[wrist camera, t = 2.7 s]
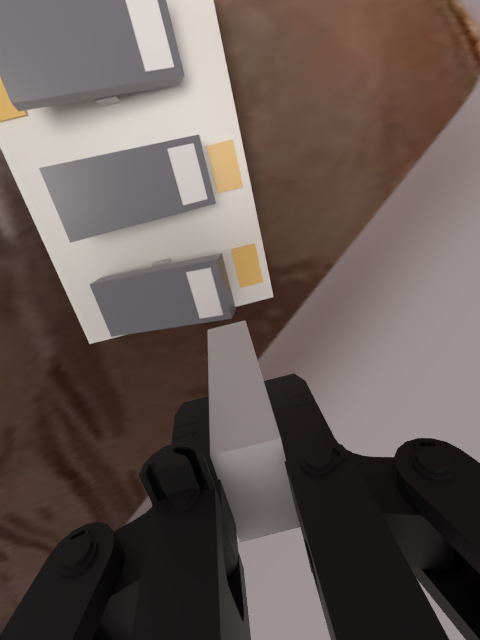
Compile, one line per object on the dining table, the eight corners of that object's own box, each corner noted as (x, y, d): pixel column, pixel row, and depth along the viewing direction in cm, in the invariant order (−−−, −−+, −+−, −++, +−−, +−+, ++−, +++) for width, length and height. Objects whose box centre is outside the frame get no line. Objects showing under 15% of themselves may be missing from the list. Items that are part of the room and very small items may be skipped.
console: (103, 324, 30) (83, 353, 25) (-10, 59, 23) (-72, 23, 18) (264, 283, 31) (277, 303, 26) (206, 7, 23) (208, -45, 18)
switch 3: (121, 327, 26) (110, 337, 24) (101, 276, 24) (87, 285, 23) (235, 308, 24) (231, 319, 22) (221, 253, 22) (216, 260, 21)
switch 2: (72, 240, 21) (70, 243, 19) (43, 171, 19) (38, 167, 18) (209, 203, 23) (216, 203, 22) (192, 139, 22) (199, 133, 20)
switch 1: (18, 111, 18) (10, 102, 17) (-21, 19, 17) (-34, -1, 15) (179, 84, 20) (185, 74, 19) (157, 0, 19) (162, -18, 17)
